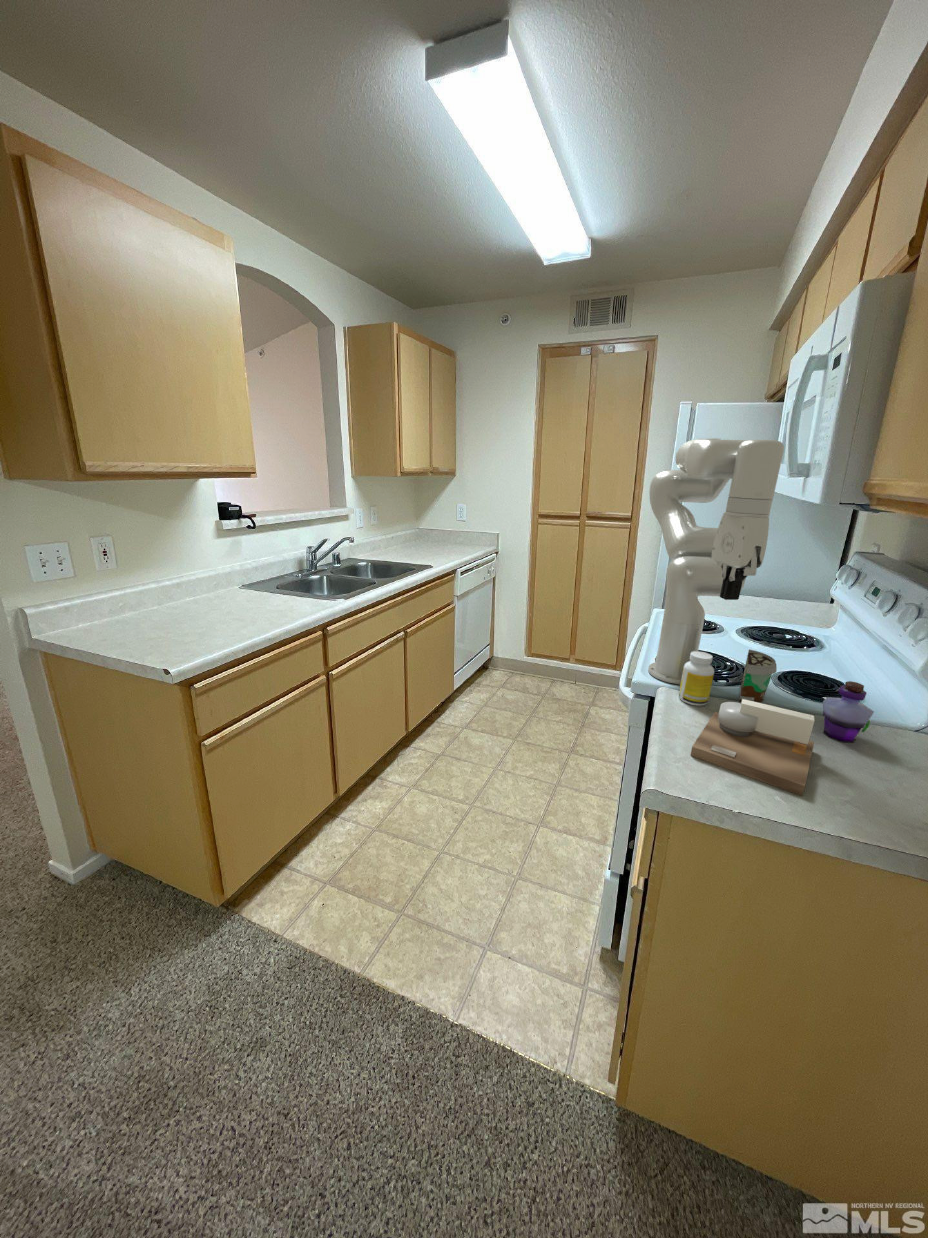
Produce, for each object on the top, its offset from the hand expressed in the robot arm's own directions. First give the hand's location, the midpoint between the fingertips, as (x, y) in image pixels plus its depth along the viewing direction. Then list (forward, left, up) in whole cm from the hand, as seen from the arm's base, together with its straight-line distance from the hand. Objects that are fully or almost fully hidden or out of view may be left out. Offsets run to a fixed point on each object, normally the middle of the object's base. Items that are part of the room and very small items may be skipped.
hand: (729, 598), depth 100 cm
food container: (-18, +7, -27) cm, 33 cm away
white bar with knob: (+5, +11, -24) cm, 27 cm away
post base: (+10, +11, -27) cm, 31 cm away
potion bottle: (-10, +24, -27) cm, 38 cm away
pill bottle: (-6, -4, -27) cm, 28 cm away
